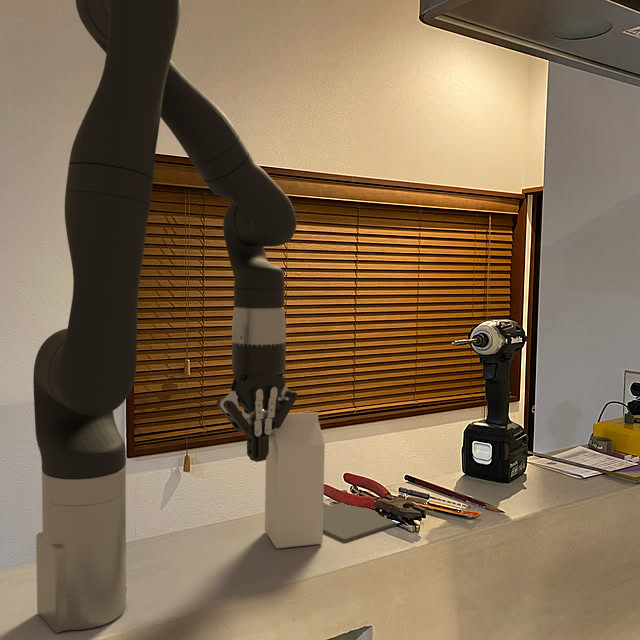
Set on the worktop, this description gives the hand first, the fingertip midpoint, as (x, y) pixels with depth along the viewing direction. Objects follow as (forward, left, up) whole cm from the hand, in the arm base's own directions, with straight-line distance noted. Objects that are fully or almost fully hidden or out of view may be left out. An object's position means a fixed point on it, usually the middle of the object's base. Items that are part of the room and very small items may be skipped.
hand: (257, 459), depth 101 cm
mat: (+21, 0, -13) cm, 25 cm away
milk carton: (+7, 0, -13) cm, 15 cm away
